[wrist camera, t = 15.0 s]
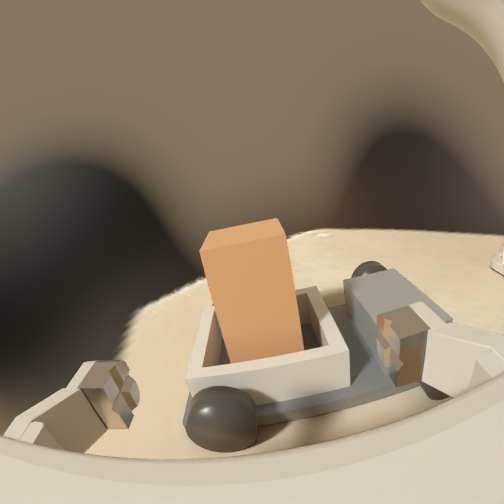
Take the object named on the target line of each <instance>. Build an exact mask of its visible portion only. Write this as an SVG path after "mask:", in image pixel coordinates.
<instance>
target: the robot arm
mask: <svg viewBox="0 0 504 504" xmlns="http://www.w3.org/2000/svg"><path fill="white" fill-rule="evenodd" d="M420 1H421V2H422V3H423V5H424V6H425V7H427V9H429V10H430V11H431V12H432V13H433V14H434V15H436V16H437V17H439V18H440V19H442V20H444V21H446V22H449V23H450V24H452V25H454V26H456V27H458V28H460V29H462V30H463V31H464V32H466V33H467V34H468V35H470V36H471V37H472V38H473V39H474V40H475V41H477V43H479V45H480V46H481V47H482V48H483V49H484V50H485V51H486V52H487V54H488V55H489V56H490V58H491V59H492V61H493V62H494V64H495V65H496V67H497V69H498V71H499V73H500V75H501V77H502V80H503V82H504V0H420ZM490 266H491V267H492V268H493V269H494V270H496V271H498V272H499V273H501V274H503V275H504V248H503V249H502V250H501V251H499V252H498V253H497V254H496V255H494V256H493V257H492V259H491V264H490ZM377 328H378V329H379V331H380V334H379V336H378V337H377V349H378V354H379V357H380V360H381V362H382V364H383V366H385V367H388V368H389V376H390V377H391V379H392V381H393V382H394V384H395V386H396V388H398V387H401V386H404V385H407V384H410V383H413V382H416V381H419V380H422V381H423V382H425V383H426V384H428V385H430V386H432V387H434V388H436V389H438V390H440V391H442V392H444V393H446V394H448V395H450V396H451V397H453V399H451V400H449V401H447V402H444V403H442V404H440V405H438V406H435V407H433V408H430V409H428V410H426V411H423V412H421V413H418V414H415V415H413V416H410V417H407V418H405V419H402V420H399V421H396V422H393V423H391V424H388V425H385V426H381V427H378V428H375V429H372V430H368V431H365V432H362V433H358V434H354V435H351V436H347V437H343V438H339V439H335V440H331V441H327V442H322V443H318V444H313V445H308V446H303V447H298V448H292V449H286V450H280V451H274V452H267V453H260V454H252V455H243V456H233V457H221V458H205V459H138V458H122V457H110V456H100V455H92V454H84V453H85V452H86V451H87V450H88V449H89V448H90V447H91V446H92V445H93V444H94V443H95V442H96V441H97V440H98V439H99V438H100V437H101V436H102V435H103V434H104V433H105V432H106V431H107V429H129V426H130V424H131V421H132V419H133V416H134V415H133V413H132V410H133V409H134V408H136V407H137V406H138V403H139V395H140V392H139V389H138V385H137V383H136V381H135V380H134V379H133V378H131V377H130V376H129V375H128V374H129V370H130V369H129V368H128V366H127V364H126V362H125V361H123V360H106V361H88V362H84V363H83V365H82V366H81V367H80V369H79V370H78V372H77V373H76V374H75V376H74V377H73V379H72V380H71V382H70V383H69V384H68V386H67V387H66V388H63V389H61V390H59V391H58V392H56V393H55V394H53V395H51V396H50V397H48V398H46V399H45V400H43V401H41V402H40V403H38V404H37V405H35V406H33V407H32V408H30V409H28V410H27V411H25V412H24V413H22V414H21V415H19V416H17V417H16V418H15V419H14V421H13V422H12V424H11V425H10V426H9V428H8V429H7V431H6V432H5V434H4V435H3V436H1V435H0V504H504V335H502V334H497V333H493V332H489V331H484V330H480V329H476V328H472V327H467V326H463V325H459V324H455V323H451V322H450V323H447V324H446V323H445V322H444V321H443V320H442V319H441V318H440V317H439V316H437V315H436V314H435V313H434V312H433V311H432V310H431V309H430V308H429V307H428V306H427V305H426V304H424V303H423V302H421V301H418V302H415V303H412V304H409V305H407V306H404V307H401V308H398V309H394V310H391V311H388V312H385V313H381V314H378V315H377Z"/></svg>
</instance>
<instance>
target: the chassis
mask: <svg viewBox="0 0 504 504" xmlns="http://www.w3.org/2000/svg"><path fill="white" fill-rule="evenodd" d="M343 282H344V293H345V304H344V305H340V306H336V307H331V308H327V306H326V304H325V302H324V300H323V298H322V296H321V294H320V292H319V290H318V288H317V287H316V286H313V287H309V288H304V289H299V290H295V293H296V299H297V306H298V312H299V318H300V325H301V332H302V338H303V345H304V351H300V352H295V353H290V354H285V355H280V356H274V357H269V358H263V359H257V360H251V361H245V362H239V363H232V364H231V362H230V359H229V356H228V353H227V349H226V346H225V342H224V339H223V336H222V332H221V329H220V325H219V322H218V318H217V315H216V311H215V308H214V304H213V305H212V306H209V307H204V309H203V313H202V316H201V320H200V324H199V327H198V331H197V335H196V338H195V342H194V346H193V349H192V353H191V357H190V360H189V364H188V368H187V372H186V376H185V381H186V384H187V386H188V388H189V391H190V392H189V396H188V401H187V405H186V410H185V414H184V419H183V425H184V427H185V429H186V432H187V435H188V436H189V438H190V439H191V440H192V441H193V442H194V443H195V444H197V445H199V446H200V447H202V448H205V449H207V450H211V451H215V452H235V451H239V450H243V449H245V448H247V447H249V446H250V445H251V444H252V443H253V442H254V441H255V440H256V438H257V426H261V425H268V424H274V423H280V422H286V421H292V420H297V419H302V418H307V417H312V416H317V415H321V414H326V413H330V412H334V411H338V410H342V409H346V408H350V407H354V406H358V405H361V404H365V403H368V402H372V401H375V400H378V399H382V398H385V397H388V396H391V395H394V394H397V393H400V392H403V391H406V390H409V389H412V388H414V387H417V386H420V385H421V387H422V388H423V390H424V391H425V393H426V394H427V396H428V397H429V398H431V399H433V400H441V399H445V398H447V397H450V395H448V394H446V393H444V392H442V391H440V390H438V389H436V388H434V387H432V386H430V385H428V384H426V383H425V382H423V381H422V380H419V381H416V382H413V383H410V384H407V385H404V386H401V387H398V388H396V386H395V384H394V382H393V381H392V379H391V377H390V376H389V368H388V367H385V366H383V364H382V362H381V360H380V357H379V354H378V349H377V337H378V336H379V334H380V331H379V329H378V328H377V315H378V314H381V313H385V312H388V311H391V310H394V309H398V308H401V307H404V306H407V305H409V304H412V303H415V302H418V301H421V302H423V303H424V304H426V305H427V306H428V307H429V308H430V309H431V310H432V311H433V312H434V313H435V314H436V315H437V316H439V317H440V318H441V319H442V320H443V321H444V322H445V323H446V324H447V323H450V322H451V323H452V319H453V318H451V317H450V316H449V315H448V314H447V313H446V312H445V311H444V310H442V309H441V308H440V307H439V306H438V305H437V304H436V303H434V302H433V301H432V300H431V299H430V298H429V297H427V296H426V295H425V294H424V293H423V292H422V291H420V290H419V289H418V288H417V287H416V286H414V285H413V284H412V283H411V282H410V281H408V280H407V279H406V278H405V277H404V276H402V275H401V274H400V273H399V272H397V271H396V270H395V269H394V268H393V269H389V270H387V269H386V268H385V267H384V266H382V265H381V264H380V263H378V262H375V261H368V262H365V263H362V264H361V265H359V266H358V267H357V268H356V269H355V271H354V272H353V274H352V277H351V278H350V279H346V280H343Z"/></svg>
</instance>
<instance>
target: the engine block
mask: <svg viewBox="0 0 504 504" xmlns="http://www.w3.org/2000/svg"><path fill="white" fill-rule="evenodd" d="M200 255H201V259H202V263H203V267H204V271H205V275H206V278H207V282H208V286H209V289H210V293H211V297H212V300H213V304H214V308H215V311H216V315H217V318H218V322H219V325H220V329H221V332H222V336H223V339H224V342H225V346H226V349H227V353H228V356H229V359H230V362H231V364H232V363H239V362H245V361H251V360H257V359H263V358H269V357H274V356H280V355H285V354H290V353H295V352H300V351H304V345H303V338H302V332H301V325H300V318H299V312H298V306H297V299H296V293H295V287H294V281H293V275H292V269H291V263H290V257H289V251H288V246H287V240H286V234H285V232H284V230H283V228H282V226H281V224H280V223H279V221H278V219H277V218H275V219H270V220H265V221H260V222H255V223H250V224H245V225H240V226H236V227H230V228H226V229H221V230H216V231H211V232H209V234H208V236H207V237H206V240H205V241H204V243H203V245H202V247H201V249H200Z"/></svg>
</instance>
